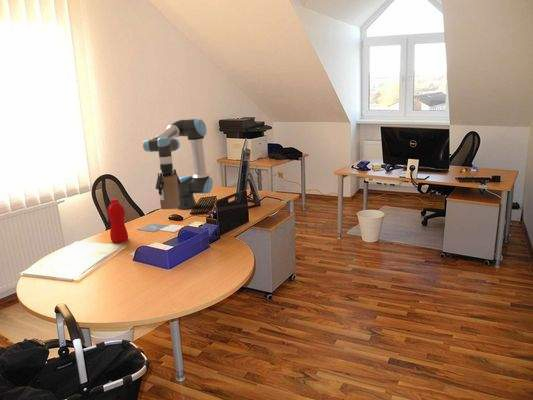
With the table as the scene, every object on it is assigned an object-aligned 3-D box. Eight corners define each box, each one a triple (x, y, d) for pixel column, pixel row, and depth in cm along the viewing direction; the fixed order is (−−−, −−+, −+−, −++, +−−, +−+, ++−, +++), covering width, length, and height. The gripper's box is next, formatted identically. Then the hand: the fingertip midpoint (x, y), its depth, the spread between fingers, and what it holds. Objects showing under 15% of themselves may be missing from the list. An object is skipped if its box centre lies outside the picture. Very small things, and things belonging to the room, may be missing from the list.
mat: (171, 225, 288) (171, 224, 288) (186, 227, 282) (186, 226, 282) (159, 230, 278) (159, 229, 278) (173, 232, 272) (173, 231, 272)
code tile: (153, 223, 293) (153, 223, 293) (169, 225, 286) (169, 225, 286) (137, 229, 281) (137, 229, 281) (154, 232, 275) (153, 231, 274)
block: (176, 209, 271) (173, 177, 267) (160, 209, 272) (157, 177, 267) (180, 205, 281) (177, 173, 276) (164, 205, 282) (161, 174, 277)
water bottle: (132, 240, 261) (127, 198, 255) (113, 244, 256) (107, 201, 250) (128, 236, 269) (123, 196, 263) (109, 240, 264) (104, 199, 258)
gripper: (174, 159, 282) (178, 192, 287) (146, 166, 261) (150, 201, 266) (184, 160, 278) (187, 193, 284) (156, 166, 258) (160, 202, 263)
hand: (169, 197), depth 275 cm, fingers closed on block, 13 cm apart
